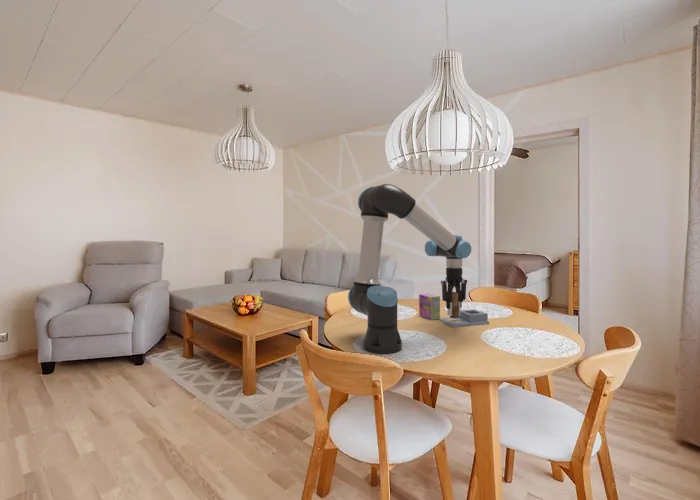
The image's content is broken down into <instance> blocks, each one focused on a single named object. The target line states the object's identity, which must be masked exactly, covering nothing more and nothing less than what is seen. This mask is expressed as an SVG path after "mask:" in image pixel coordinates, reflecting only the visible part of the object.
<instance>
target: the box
mask: <svg viewBox="0 0 700 500" xmlns="http://www.w3.org/2000/svg"><path fill="white" fill-rule="evenodd" d="M418 308H419V309H418V311H419V314H418V315H419V317H422V318H425V319H427V320H430V321H434V320H439V319H441V296H439V295H436V294H431V293H428V292H426V293H419V295H418Z"/></svg>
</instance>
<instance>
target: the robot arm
mask: <svg viewBox="0 0 700 500" xmlns="http://www.w3.org/2000/svg"><path fill="white" fill-rule="evenodd" d="M357 200H358V201H357V205H358V209H359V211H360V218H361V219H362V221H363V225H362V233H361V235H362V236H361V244H360V254H359V265H358V274H357V278H355V279H354V280H353V286H352V287H351V288H350V289H349V291H348V293H347V301H348V303H349V305H350V307H351V308H352V309H353V310H355V311H356V312H357V313H359V314H360V313H361V314H363V315H365V316H367V328H366V331H365V335H364V338H363V340H362V343H363V345H362V347H363V349H364V350H365V351H368V352H370V353H374V354H381V355H383V354H385V355H386V354H394V353H398V352H400V351H401V350H403V348H402V347H403V342H402V337H401V334H400V332H399V329H398V293H397V291H396V289H395V288H393V287H390V286H387V285H386V286H384V285H382V283H381V281H380V280H379V271H380V263H381V253H382V243H383V233H384V226H385V225H384V224H385V223H386V222H387V221H388V220H389V214H391V215H393V216H395V217H397V218H398V219H400V220H405V221H406V222H407V223H409V224H410V225H411V226H413V227H414V228H415V229H416V230H418V231H419V232H420V233H421V234H423V235H424V236H426V238H428V239H429V240H427V241H426V242H425V244H424V253H425V254H426V256H429V257H445V259H446V260H445V262H446V264H445V265H446V268H445V275H446V277H445V279H444V280H440V284H441V294H442V295H441V297H442V301H444V302H445V303H446V304H445V308H446V309H447V315H448V317H450V316H452V302H451V296H452V292H454V290H453V289H455V292H457V293H458V315H460V310H461V309H462V304H463V303H464V301H465V300H467V299H466V298H467V297H466V296H467V295H466V294H467V283H468V280H467V279H464V278H463V268H462V267H463V259H467V258H469V256H470V255H471V254H472V245H471V243H470V242H469V241H466V240H463V236H462V235H459V234H456V235H455V234H453V233H452V232H451V231H449V230H448V229H447V228H446V227H445V226H443V225H442V224H441V223H439V222H438V221H437V220H436V219H435V218H434V217H433V216H431V215H430V214H429V213H427V212H426V211H425V210H424V209H423V208H422V207H420V206H419V205H418V204H417V201H416V199H415V198H413V197H412V196H411V195H410V194H409V193H407V192H406V191H405V190H403V189H401V188H400V187H398V186H397V185H393V184H390V183H384V184H380V185H376V186H370V187H367V188H365V189H364V190H363V191H362V192H360V194H359V196H358V199H357Z"/></svg>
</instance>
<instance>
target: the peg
mask: <svg viewBox="0 0 700 500" xmlns="http://www.w3.org/2000/svg"><path fill="white" fill-rule="evenodd" d="M451 302H452V316H449V318H458V293H457V292H456V291H452V296H451Z"/></svg>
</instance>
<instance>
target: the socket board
mask: <svg viewBox="0 0 700 500" xmlns="http://www.w3.org/2000/svg"><path fill="white" fill-rule="evenodd" d="M488 315H489V313H487V312H484V311H482V310H478V309H463V310H461V309H460V315H458V318H450V317H444V318H443V317H442V318H441V317H440V319H438V321H439V322H440V323H442V324H444V325H447V326H449V327H450V328H459V327H460V328H461V327H470V326H472V327H473V326H481V325H489V324H490V320H488V317H489V316H488Z"/></svg>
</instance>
